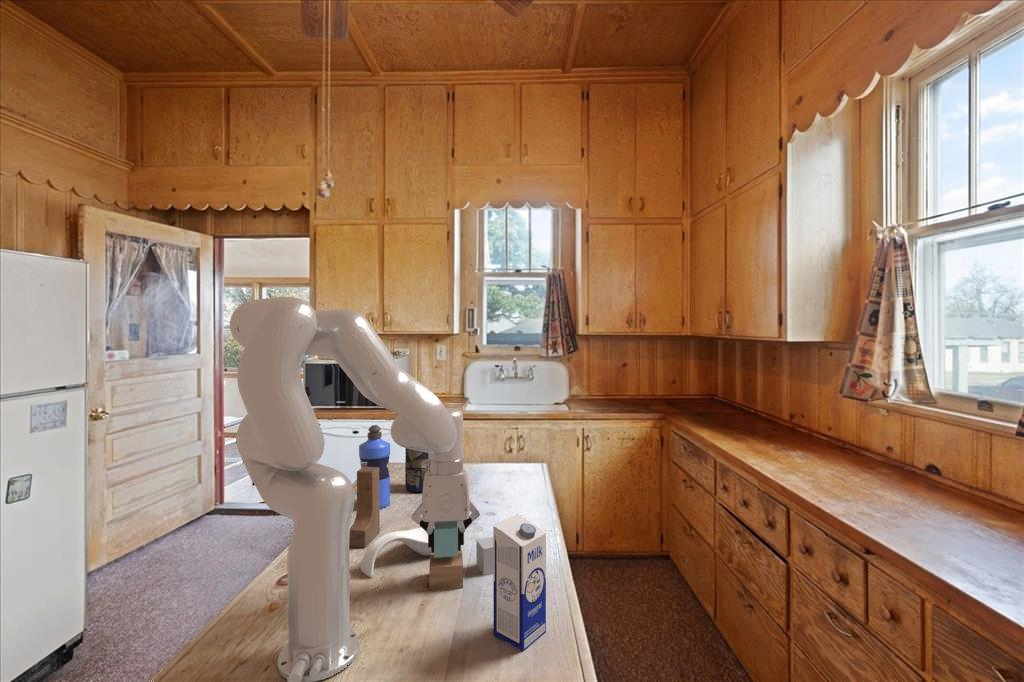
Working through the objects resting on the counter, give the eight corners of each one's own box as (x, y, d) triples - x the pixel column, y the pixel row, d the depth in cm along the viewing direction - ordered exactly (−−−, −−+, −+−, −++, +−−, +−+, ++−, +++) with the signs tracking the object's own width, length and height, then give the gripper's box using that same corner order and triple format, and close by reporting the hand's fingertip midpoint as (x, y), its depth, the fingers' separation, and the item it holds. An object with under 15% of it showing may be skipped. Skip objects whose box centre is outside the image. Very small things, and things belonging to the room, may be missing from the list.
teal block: (458, 556, 100) (457, 528, 99) (434, 557, 99) (434, 529, 99) (457, 545, 104) (457, 518, 104) (434, 547, 104) (434, 520, 104)
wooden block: (365, 548, 117) (364, 477, 116) (348, 547, 117) (347, 476, 117) (380, 533, 126) (379, 466, 125) (364, 532, 126) (363, 466, 126)
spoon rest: (435, 535, 125) (435, 508, 125) (464, 549, 117) (464, 521, 117) (352, 567, 108) (352, 536, 108) (379, 586, 100) (379, 553, 100)
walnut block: (463, 588, 99) (463, 565, 99) (429, 591, 98) (429, 567, 98) (462, 572, 106) (462, 550, 106) (430, 574, 105) (430, 552, 105)
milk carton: (517, 617, 89) (517, 512, 88) (546, 631, 84) (546, 521, 84) (492, 635, 83) (492, 524, 83) (522, 652, 79) (522, 534, 79)
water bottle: (383, 497, 153) (383, 421, 152) (395, 506, 145) (394, 426, 145) (355, 504, 147) (354, 425, 147) (365, 513, 140) (365, 430, 139)
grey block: (504, 571, 106) (504, 545, 106) (483, 575, 104) (483, 549, 104) (496, 561, 110) (496, 536, 110) (476, 565, 108) (476, 539, 108)
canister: (400, 492, 158) (399, 439, 157) (413, 483, 167) (413, 433, 166) (425, 495, 155) (425, 441, 155) (438, 486, 164) (438, 435, 164)
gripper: (404, 472, 96) (404, 560, 97) (486, 469, 99) (486, 554, 99) (407, 462, 104) (407, 544, 104) (483, 459, 106) (483, 539, 107)
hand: (446, 548), depth 102 cm, fingers closed on teal block, 5 cm apart
